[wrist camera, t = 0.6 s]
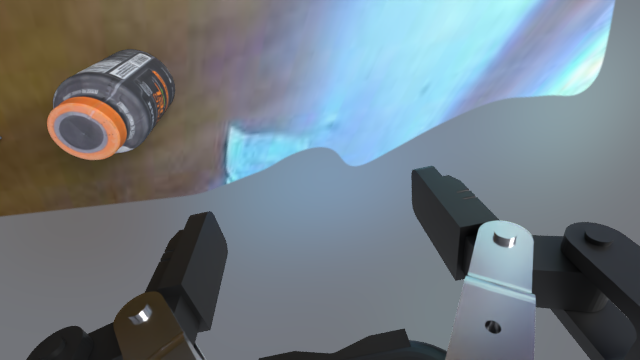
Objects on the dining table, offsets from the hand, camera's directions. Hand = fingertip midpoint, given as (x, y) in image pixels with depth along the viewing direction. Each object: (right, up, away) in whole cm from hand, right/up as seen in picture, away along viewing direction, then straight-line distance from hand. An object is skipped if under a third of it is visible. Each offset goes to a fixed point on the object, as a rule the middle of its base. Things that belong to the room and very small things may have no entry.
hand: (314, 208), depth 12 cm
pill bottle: (-17, +10, +16) cm, 25 cm away
